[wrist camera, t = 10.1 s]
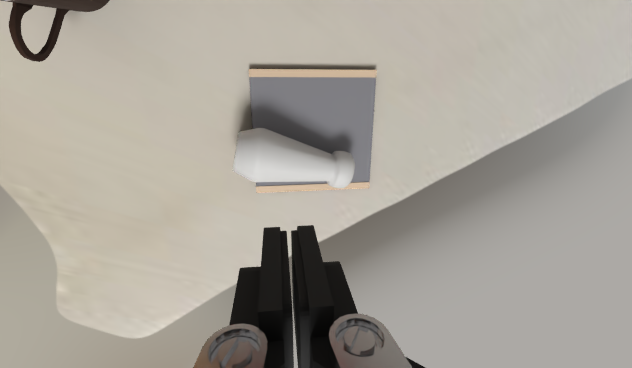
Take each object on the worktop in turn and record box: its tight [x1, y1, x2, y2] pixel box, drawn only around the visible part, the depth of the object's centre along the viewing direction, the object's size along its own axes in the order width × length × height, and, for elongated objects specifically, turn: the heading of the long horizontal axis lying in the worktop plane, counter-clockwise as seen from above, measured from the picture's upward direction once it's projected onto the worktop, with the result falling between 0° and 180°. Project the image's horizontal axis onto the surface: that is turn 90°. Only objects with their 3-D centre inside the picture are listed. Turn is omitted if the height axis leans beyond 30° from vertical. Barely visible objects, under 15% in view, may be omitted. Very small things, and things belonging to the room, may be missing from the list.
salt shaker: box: [233, 128, 355, 188], centre depth 34 cm, size 6×6×13 cm
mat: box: [249, 69, 377, 193], centre depth 36 cm, size 14×14×1 cm
